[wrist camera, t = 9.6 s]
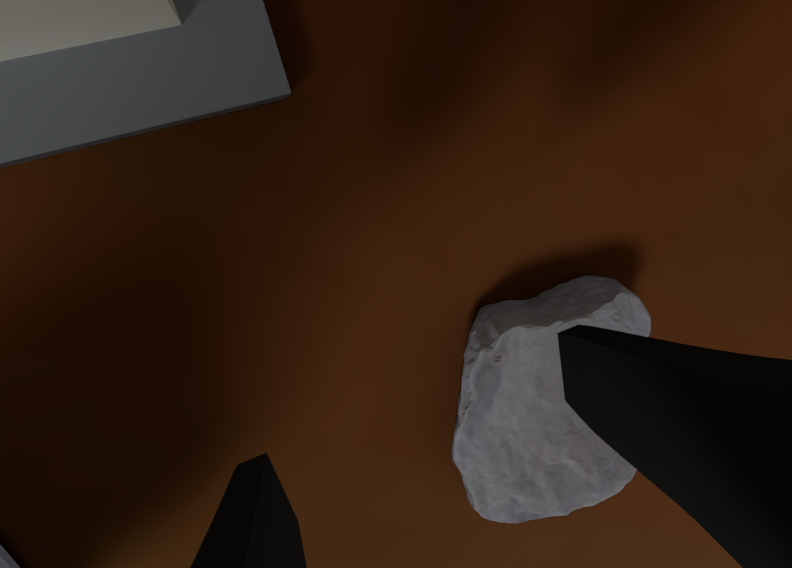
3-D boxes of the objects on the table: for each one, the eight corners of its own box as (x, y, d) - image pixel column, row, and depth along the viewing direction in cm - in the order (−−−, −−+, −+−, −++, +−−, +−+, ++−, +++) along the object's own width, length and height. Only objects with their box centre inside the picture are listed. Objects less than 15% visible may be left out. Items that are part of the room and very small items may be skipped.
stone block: (446, 477, 26) (604, 447, 26) (466, 547, 21) (657, 509, 22) (423, 293, 22) (607, 263, 23) (442, 330, 18) (672, 291, 18)
